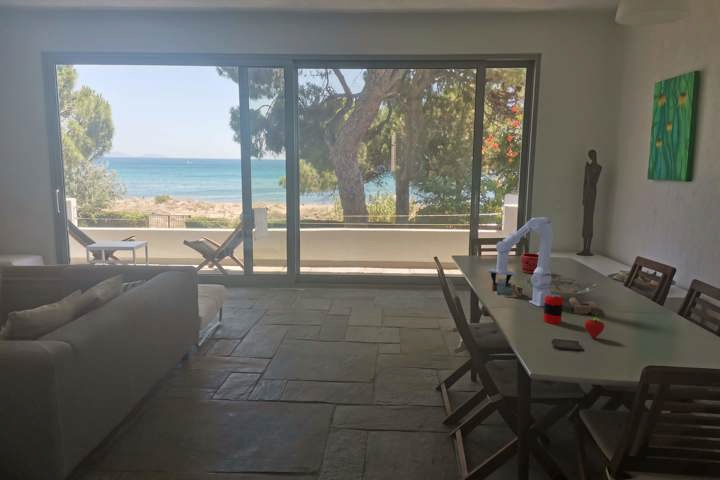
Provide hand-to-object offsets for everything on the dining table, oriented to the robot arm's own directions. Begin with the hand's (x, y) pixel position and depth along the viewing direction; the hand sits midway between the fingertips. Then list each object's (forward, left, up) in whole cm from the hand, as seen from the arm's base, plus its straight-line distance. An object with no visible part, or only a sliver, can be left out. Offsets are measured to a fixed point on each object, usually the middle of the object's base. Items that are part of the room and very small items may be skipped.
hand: (500, 287), depth 268 cm
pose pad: (-3, -2, -3) cm, 5 cm away
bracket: (-1, -3, -2) cm, 3 cm away
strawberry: (-72, -6, -4) cm, 72 cm away
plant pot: (+48, -45, -4) cm, 66 cm away
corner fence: (-1, -4, -3) cm, 5 cm away
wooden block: (-42, -24, -2) cm, 49 cm away
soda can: (-50, -1, -4) cm, 50 cm away
